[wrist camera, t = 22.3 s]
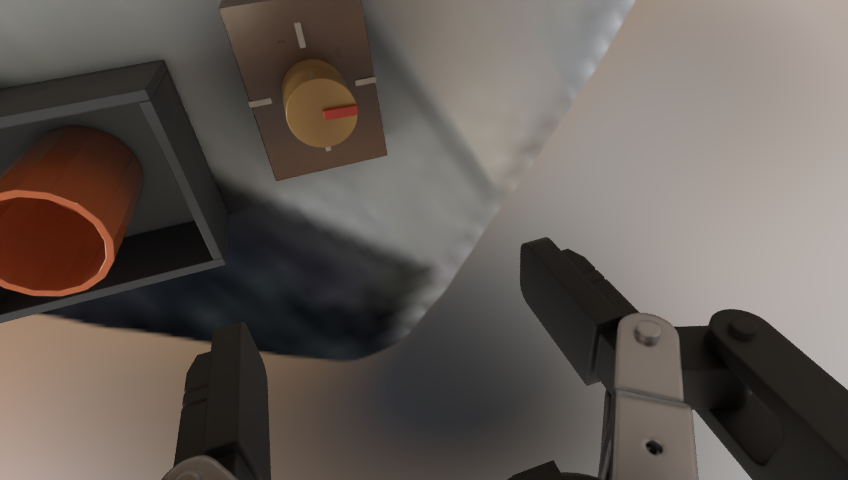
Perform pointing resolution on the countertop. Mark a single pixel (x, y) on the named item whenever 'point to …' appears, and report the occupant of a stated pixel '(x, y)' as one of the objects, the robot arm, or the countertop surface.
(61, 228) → the cup
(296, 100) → the tap knob
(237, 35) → the tap block
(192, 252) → the basin
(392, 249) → the countertop surface
